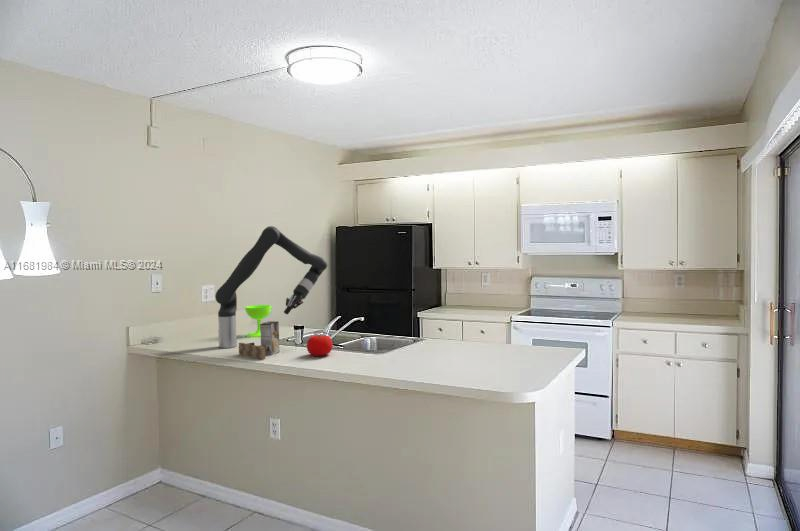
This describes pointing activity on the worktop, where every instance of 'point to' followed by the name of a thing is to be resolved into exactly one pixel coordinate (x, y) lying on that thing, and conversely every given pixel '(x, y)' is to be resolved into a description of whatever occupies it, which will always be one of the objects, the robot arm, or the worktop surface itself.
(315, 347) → the tomato
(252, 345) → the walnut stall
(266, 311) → the wineglass
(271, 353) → the coffee box
